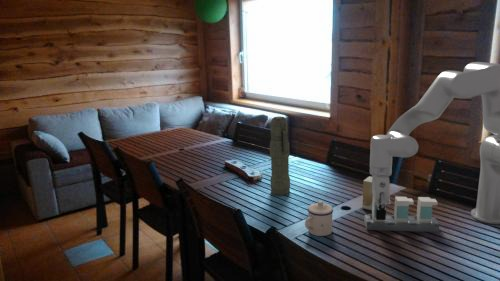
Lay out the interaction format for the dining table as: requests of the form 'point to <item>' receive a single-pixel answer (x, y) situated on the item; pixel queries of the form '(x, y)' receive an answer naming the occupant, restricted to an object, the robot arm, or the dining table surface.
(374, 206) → the finger loose
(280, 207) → the dining table surface
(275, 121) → the thermos
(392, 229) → the rail
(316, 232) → the teacup with lid
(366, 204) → the skincare box
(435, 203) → the cream block teal side
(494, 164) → the robot arm
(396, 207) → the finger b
